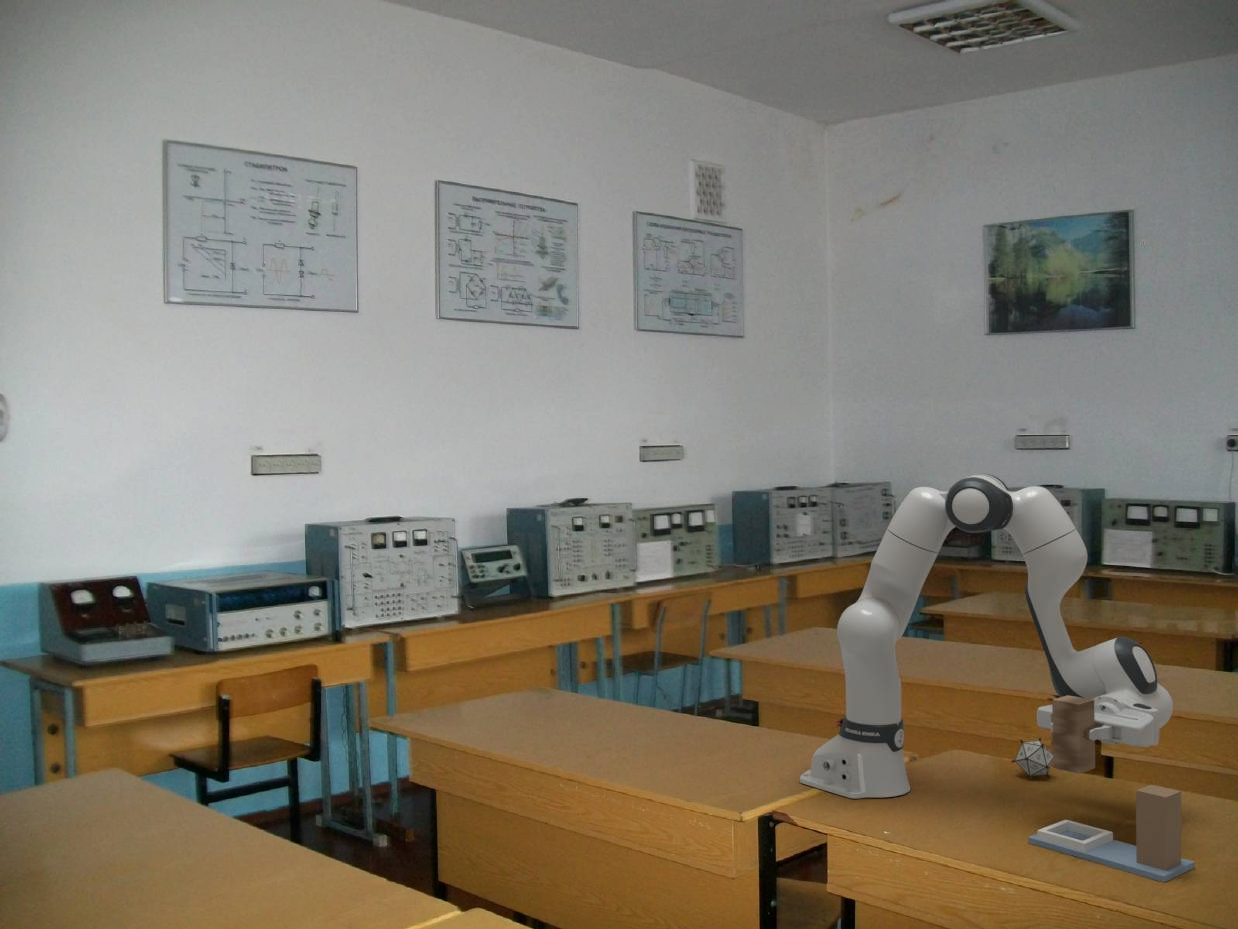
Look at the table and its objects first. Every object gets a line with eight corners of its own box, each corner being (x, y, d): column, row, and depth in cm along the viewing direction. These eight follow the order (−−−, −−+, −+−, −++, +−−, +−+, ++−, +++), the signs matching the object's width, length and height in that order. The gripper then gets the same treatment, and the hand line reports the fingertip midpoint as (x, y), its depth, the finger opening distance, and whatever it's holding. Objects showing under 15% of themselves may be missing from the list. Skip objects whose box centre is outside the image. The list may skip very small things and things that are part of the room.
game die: (1026, 795, 250) (996, 756, 251) (1042, 772, 256) (1012, 735, 257) (1058, 783, 243) (1027, 743, 245) (1073, 760, 249) (1043, 721, 250)
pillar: (1053, 767, 209) (1052, 699, 209) (1068, 762, 212) (1068, 695, 212) (1079, 773, 205) (1078, 704, 205) (1095, 768, 208) (1094, 699, 208)
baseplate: (1028, 843, 210) (1027, 769, 210) (1059, 830, 216) (1059, 759, 216) (1164, 882, 191) (1164, 802, 191) (1194, 867, 197) (1194, 789, 197)
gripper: (1060, 692, 224) (1017, 704, 216) (1167, 710, 208) (1125, 724, 200) (1060, 725, 225) (1018, 738, 216) (1167, 746, 209) (1126, 761, 200)
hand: (1070, 731), depth 208 cm, fingers closed on pillar, 5 cm apart
